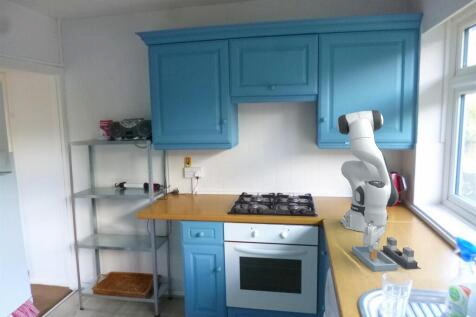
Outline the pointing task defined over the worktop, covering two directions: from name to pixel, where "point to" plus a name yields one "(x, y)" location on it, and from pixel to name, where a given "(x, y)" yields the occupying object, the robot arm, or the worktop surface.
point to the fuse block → (399, 258)
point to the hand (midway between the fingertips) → (373, 249)
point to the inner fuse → (391, 243)
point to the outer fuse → (408, 254)
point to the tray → (375, 264)
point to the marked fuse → (374, 254)
